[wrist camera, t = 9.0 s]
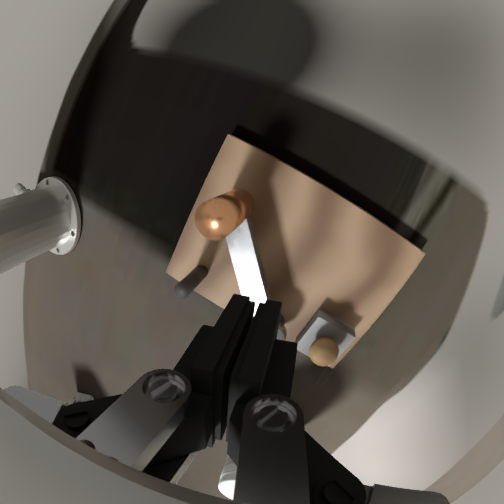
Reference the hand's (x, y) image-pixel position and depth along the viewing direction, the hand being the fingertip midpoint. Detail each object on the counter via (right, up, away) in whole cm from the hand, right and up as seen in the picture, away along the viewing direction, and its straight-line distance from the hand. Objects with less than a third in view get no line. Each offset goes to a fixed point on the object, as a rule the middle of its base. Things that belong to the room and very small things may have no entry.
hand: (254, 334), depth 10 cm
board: (+4, +2, +23) cm, 23 cm away
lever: (0, +1, +21) cm, 21 cm away
